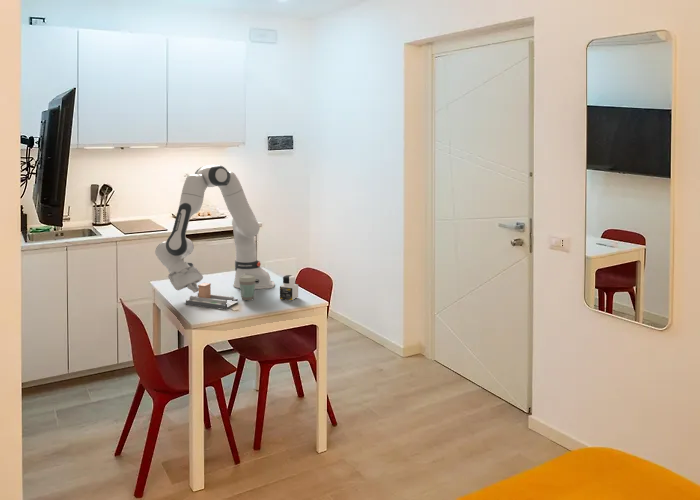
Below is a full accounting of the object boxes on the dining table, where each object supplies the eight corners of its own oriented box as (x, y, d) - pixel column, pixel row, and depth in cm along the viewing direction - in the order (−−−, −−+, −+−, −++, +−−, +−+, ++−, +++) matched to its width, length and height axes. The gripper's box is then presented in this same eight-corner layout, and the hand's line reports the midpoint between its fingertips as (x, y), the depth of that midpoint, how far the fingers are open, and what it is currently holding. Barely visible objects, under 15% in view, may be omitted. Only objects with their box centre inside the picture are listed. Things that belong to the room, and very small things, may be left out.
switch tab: (198, 299, 307) (197, 285, 306) (204, 296, 312) (203, 282, 311) (205, 300, 306) (205, 286, 304) (211, 297, 311) (210, 283, 309)
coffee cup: (241, 296, 321) (241, 274, 319) (257, 297, 320) (257, 274, 318) (237, 301, 313) (236, 278, 310) (253, 301, 312) (253, 278, 310)
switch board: (185, 304, 306) (185, 297, 305) (199, 298, 317) (199, 291, 316) (225, 309, 299) (224, 302, 298) (237, 302, 310) (237, 296, 309)
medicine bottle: (279, 299, 317) (279, 276, 315) (286, 296, 323) (285, 273, 321) (292, 301, 314) (292, 278, 312) (298, 297, 321) (298, 275, 319)
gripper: (170, 270, 300) (188, 292, 299) (194, 262, 319) (211, 282, 318) (162, 278, 303) (180, 300, 301) (187, 269, 322) (204, 290, 320)
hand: (196, 291), depth 310 cm, fingers closed
